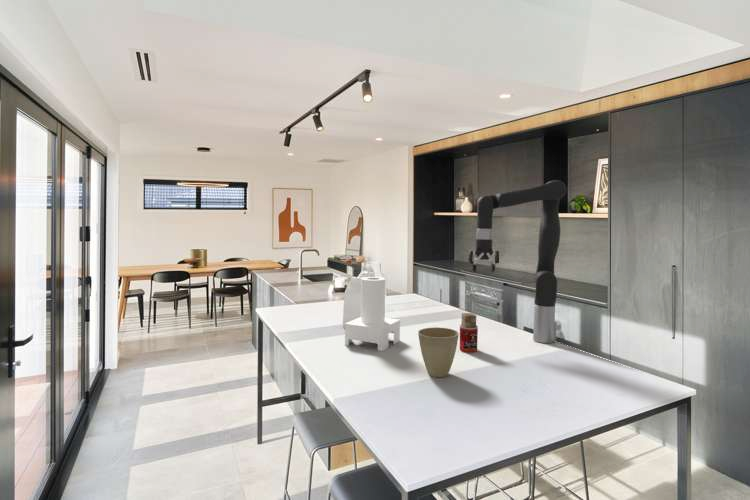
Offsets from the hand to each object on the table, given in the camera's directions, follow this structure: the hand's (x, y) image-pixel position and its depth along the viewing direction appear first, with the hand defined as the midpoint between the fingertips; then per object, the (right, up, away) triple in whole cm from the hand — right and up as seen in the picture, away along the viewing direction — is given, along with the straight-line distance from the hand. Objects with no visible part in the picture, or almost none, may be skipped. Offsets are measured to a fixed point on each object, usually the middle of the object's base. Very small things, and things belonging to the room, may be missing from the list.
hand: (483, 272), depth 212 cm
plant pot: (-28, -36, -46) cm, 65 cm away
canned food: (-11, -34, -16) cm, 39 cm away
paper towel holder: (-53, -33, -6) cm, 62 cm away
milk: (-61, -30, +26) cm, 73 cm away
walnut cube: (-11, -23, -17) cm, 30 cm away
